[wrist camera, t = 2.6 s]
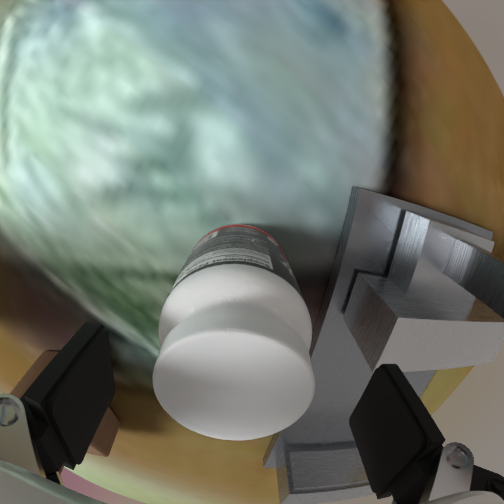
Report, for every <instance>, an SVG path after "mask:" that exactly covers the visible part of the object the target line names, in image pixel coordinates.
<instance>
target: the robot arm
mask: <svg viewBox="0 0 504 504" xmlns="http://www.w3.org/2000/svg"><path fill="white" fill-rule="evenodd" d="M114 393H115V384H114V377H113V370H112V362H111V354H110V344H109V334H108V331H106V330H104V326H103V325H100V324H97V323H93V322H90V321H87V322H86V323H85V324H84V325H83V326H82V327H81V328H80V329H79V330H78V332H77V333H76V334H75V335H74V336H73V337H72V338H71V339H70V341H69V342H68V343H67V344H66V345H65V346H64V347H63V349H62V350H61V351H60V352H58V353H57V354H56V355H55V357H54V358H53V359H52V360H51V361H50V362H49V364H48V365H47V366H46V367H45V368H44V370H43V371H42V372H41V373H40V374H39V376H38V377H37V378H36V379H35V381H34V382H33V383H32V384H31V386H30V387H29V388H28V389H27V391H26V392H25V393H24V394H23V396H22V397H21V398H20V399H18V398H17V397H15V396H14V395H11V394H0V504H107V503H104V502H101V501H98V500H96V499H93V498H90V497H88V496H85V495H83V494H80V493H77V492H75V491H73V490H71V489H68V488H66V487H64V485H63V482H62V479H61V477H60V474H59V471H60V469H61V467H62V465H63V466H65V467H68V468H70V469H72V470H74V468H75V466H76V464H78V465H79V464H81V463H82V461H83V459H84V457H85V454H86V452H87V450H88V448H89V446H90V443H91V441H92V439H93V437H94V435H95V433H96V431H97V429H98V426H99V424H100V422H101V420H102V418H103V416H104V414H105V412H106V410H107V408H108V406H109V404H110V402H111V400H112V398H113V396H114ZM349 426H350V428H351V431H352V434H353V437H354V440H355V443H356V446H357V448H358V451H359V454H360V457H361V460H362V463H363V466H364V469H365V472H366V475H367V478H368V481H369V484H370V487H371V490H372V492H373V493H376V496H377V499H381V498H385V497H389V496H391V495H392V496H393V502H392V504H504V477H503V476H501V475H499V474H497V473H494V472H492V471H489V470H486V469H483V468H481V467H478V466H476V465H473V464H474V457H473V455H472V452H471V451H470V450H469V449H468V448H467V447H466V446H465V445H463V444H461V443H456V442H454V443H449V444H447V445H446V446H445V447H443V446H442V444H443V442H444V441H445V438H444V437H443V435H442V433H441V432H440V430H439V428H438V427H437V425H436V424H435V422H434V420H433V419H432V417H431V415H430V414H429V412H428V411H427V409H426V407H425V406H424V404H423V403H422V401H421V400H420V398H419V397H418V395H417V393H416V392H415V390H414V389H413V387H412V386H411V384H410V383H409V381H408V380H407V378H406V377H405V375H404V374H403V372H402V371H401V369H400V368H399V366H398V365H397V364H381V365H380V366H379V368H376V369H375V371H374V373H373V375H372V377H371V379H370V381H369V383H368V385H367V387H366V388H365V390H364V392H363V394H362V396H361V398H360V400H359V402H358V403H357V405H356V407H355V409H354V410H353V412H352V414H351V416H350V418H349Z"/></svg>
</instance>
